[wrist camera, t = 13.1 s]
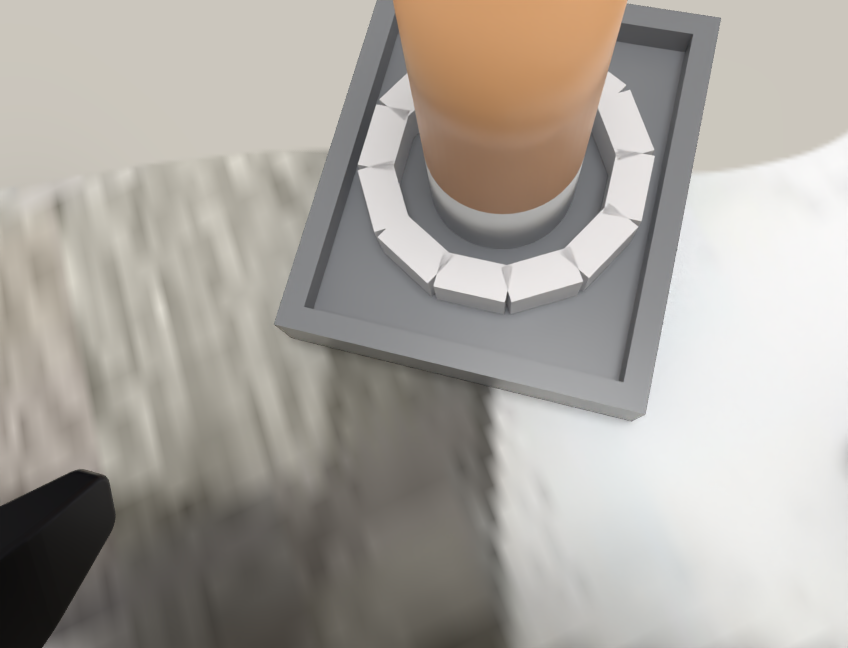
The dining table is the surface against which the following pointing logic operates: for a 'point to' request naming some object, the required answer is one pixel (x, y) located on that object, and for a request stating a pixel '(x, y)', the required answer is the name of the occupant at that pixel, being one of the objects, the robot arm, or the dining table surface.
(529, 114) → the peach bulb knob
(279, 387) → the dining table surface
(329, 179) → the housing
